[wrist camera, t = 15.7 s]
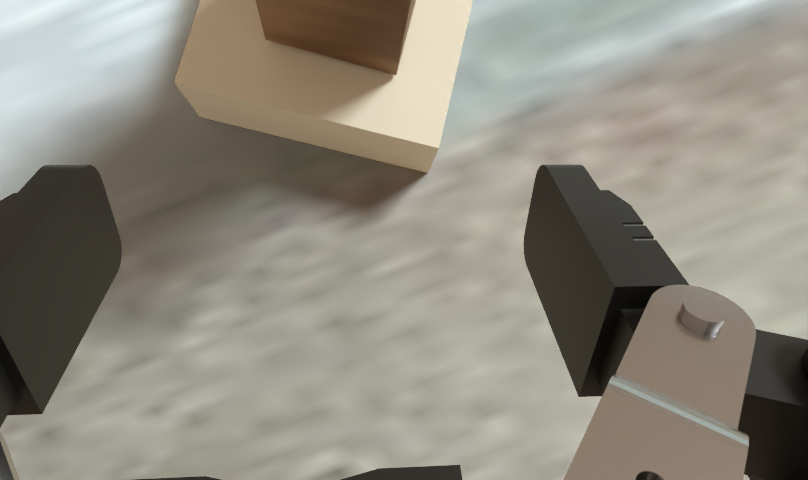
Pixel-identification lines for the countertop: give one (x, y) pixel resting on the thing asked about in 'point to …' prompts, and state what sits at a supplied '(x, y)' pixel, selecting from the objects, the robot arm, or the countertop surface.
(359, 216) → the countertop surface
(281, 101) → the slab
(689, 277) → the countertop surface
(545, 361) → the countertop surface
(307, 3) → the pillar
